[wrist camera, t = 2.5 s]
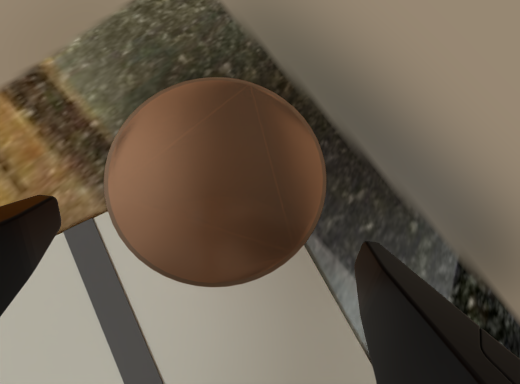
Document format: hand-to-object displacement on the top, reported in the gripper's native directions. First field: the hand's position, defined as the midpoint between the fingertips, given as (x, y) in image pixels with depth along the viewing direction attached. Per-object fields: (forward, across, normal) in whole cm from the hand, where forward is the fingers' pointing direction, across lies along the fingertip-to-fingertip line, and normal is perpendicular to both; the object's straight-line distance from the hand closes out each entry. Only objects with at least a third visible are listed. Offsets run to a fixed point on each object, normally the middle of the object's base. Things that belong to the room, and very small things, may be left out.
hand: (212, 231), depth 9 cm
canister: (+7, 0, +5) cm, 9 cm away
